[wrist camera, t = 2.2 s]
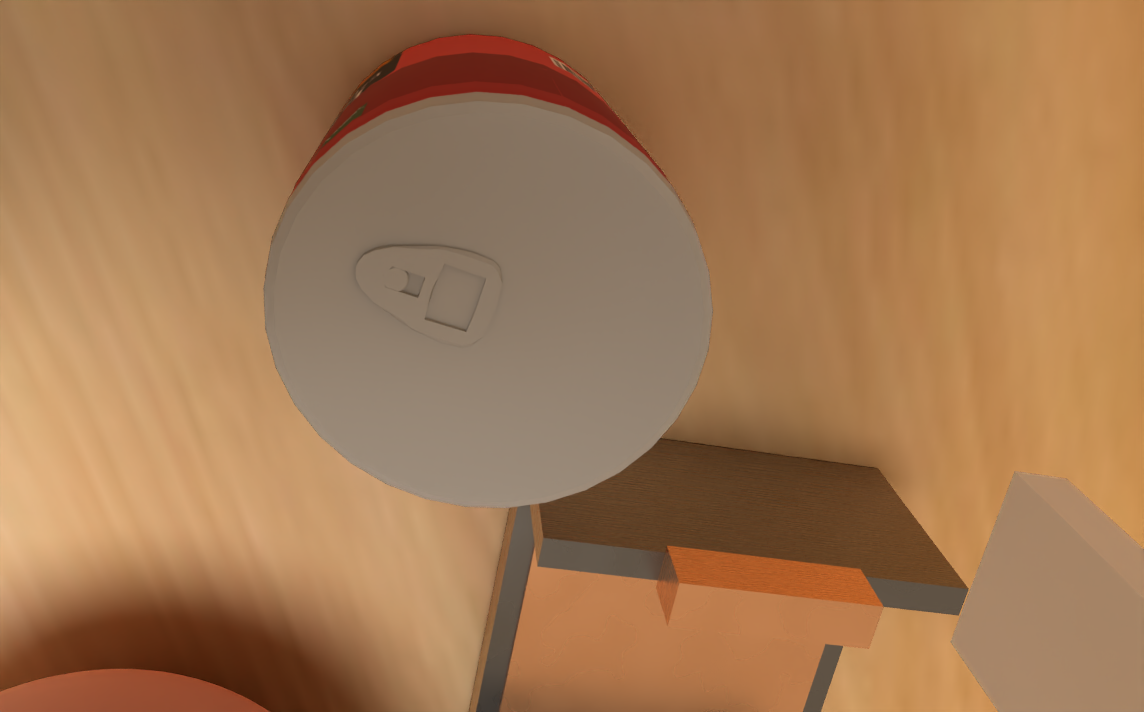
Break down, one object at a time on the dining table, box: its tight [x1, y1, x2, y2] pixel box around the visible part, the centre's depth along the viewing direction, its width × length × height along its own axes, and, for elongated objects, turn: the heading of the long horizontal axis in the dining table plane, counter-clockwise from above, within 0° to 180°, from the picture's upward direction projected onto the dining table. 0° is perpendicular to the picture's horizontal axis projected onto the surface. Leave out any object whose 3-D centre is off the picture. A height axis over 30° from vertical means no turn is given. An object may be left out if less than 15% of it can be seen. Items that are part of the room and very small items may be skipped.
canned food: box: [264, 34, 713, 508], centre depth 24 cm, size 8×8×11 cm
